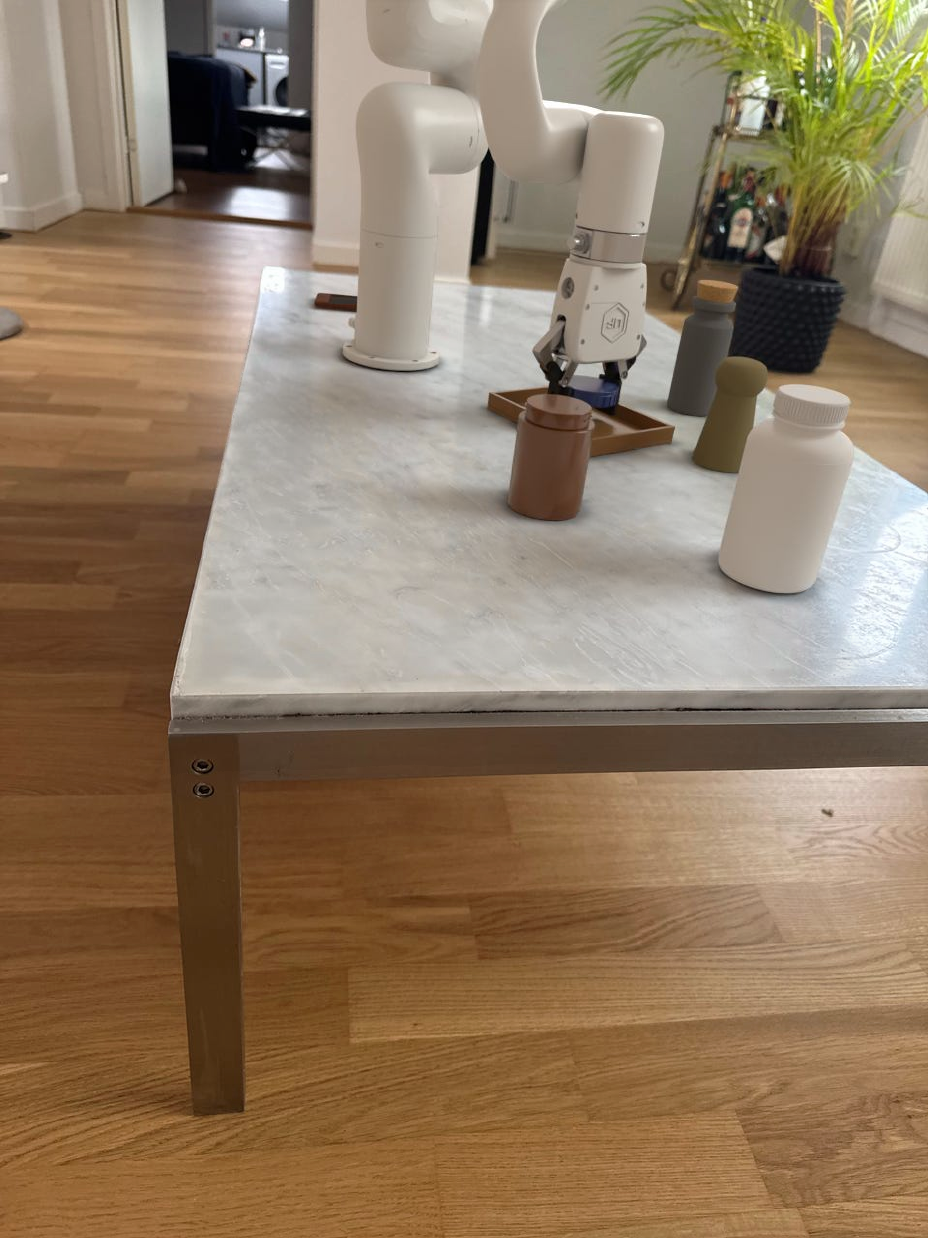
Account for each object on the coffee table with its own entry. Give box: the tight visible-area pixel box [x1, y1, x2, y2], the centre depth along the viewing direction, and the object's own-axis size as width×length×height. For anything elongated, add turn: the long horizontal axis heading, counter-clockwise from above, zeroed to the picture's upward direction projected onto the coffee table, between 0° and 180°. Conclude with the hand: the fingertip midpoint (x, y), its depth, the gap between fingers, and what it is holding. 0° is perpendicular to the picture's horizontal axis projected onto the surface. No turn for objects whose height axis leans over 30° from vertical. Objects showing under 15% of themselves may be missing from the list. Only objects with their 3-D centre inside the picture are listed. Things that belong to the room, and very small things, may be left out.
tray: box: [486, 385, 676, 458], centre depth 106 cm, size 17×13×2 cm
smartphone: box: [313, 292, 357, 312], centre depth 148 cm, size 7×1×15 cm
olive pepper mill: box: [691, 356, 769, 474], centre depth 98 cm, size 6×6×11 cm
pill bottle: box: [717, 383, 855, 594], centre depth 74 cm, size 8×8×15 cm
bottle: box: [666, 279, 739, 417], centre depth 114 cm, size 6×6×15 cm
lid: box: [568, 374, 618, 408], centre depth 105 cm, size 7×7×2 cm
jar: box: [507, 394, 595, 521], centre depth 83 cm, size 7×7×9 cm
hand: (580, 414), depth 106 cm, fingers closed on lid, 6 cm apart
